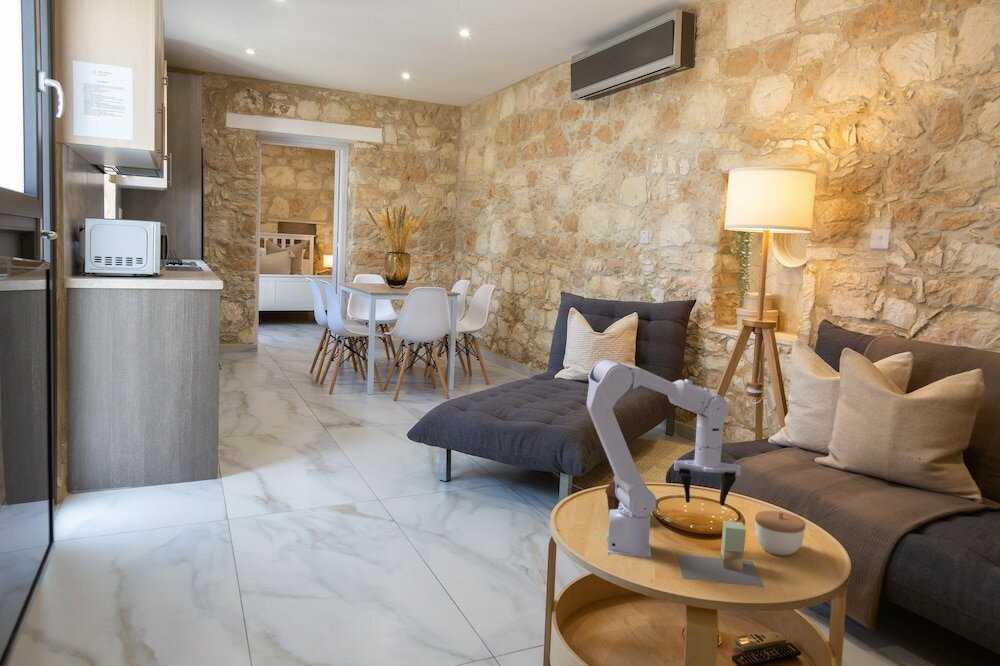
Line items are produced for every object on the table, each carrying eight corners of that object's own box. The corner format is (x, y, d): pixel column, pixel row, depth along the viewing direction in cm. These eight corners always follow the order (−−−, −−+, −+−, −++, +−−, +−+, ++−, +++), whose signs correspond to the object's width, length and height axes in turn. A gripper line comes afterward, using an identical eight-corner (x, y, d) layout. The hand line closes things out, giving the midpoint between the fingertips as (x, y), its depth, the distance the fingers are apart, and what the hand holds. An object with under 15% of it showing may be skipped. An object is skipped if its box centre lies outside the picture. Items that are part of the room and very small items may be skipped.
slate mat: (683, 580, 143) (683, 578, 143) (677, 555, 155) (677, 554, 155) (763, 588, 141) (764, 586, 141) (752, 563, 153) (752, 561, 153)
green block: (724, 550, 148) (726, 527, 148) (721, 542, 152) (723, 520, 152) (744, 552, 148) (745, 529, 147) (740, 544, 152) (742, 522, 151)
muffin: (599, 509, 183) (601, 472, 182) (639, 508, 184) (642, 472, 183) (611, 526, 171) (613, 487, 170) (655, 526, 172) (657, 486, 171)
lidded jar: (772, 563, 153) (775, 522, 152) (743, 543, 163) (746, 505, 162) (813, 559, 156) (816, 519, 155) (782, 540, 166) (785, 502, 165)
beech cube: (723, 568, 149) (724, 550, 148) (720, 560, 153) (721, 542, 152) (742, 569, 148) (743, 552, 148) (739, 562, 152) (740, 544, 152)
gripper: (677, 447, 156) (673, 505, 157) (744, 452, 153) (740, 511, 155) (674, 439, 163) (671, 495, 164) (739, 443, 160) (735, 500, 162)
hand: (704, 502), depth 160 cm, fingers open, 7 cm apart
